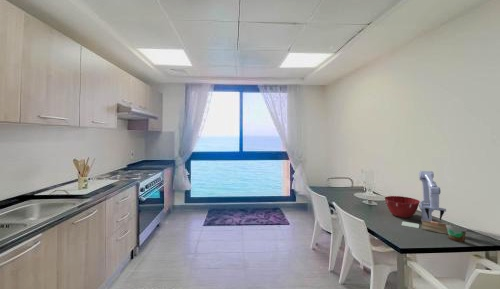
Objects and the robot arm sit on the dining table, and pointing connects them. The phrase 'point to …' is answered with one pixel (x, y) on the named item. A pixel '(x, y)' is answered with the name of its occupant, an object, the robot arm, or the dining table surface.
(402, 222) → the mat
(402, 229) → the dining table surface
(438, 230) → the crate
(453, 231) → the food container
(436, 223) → the block
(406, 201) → the mixing bowl
